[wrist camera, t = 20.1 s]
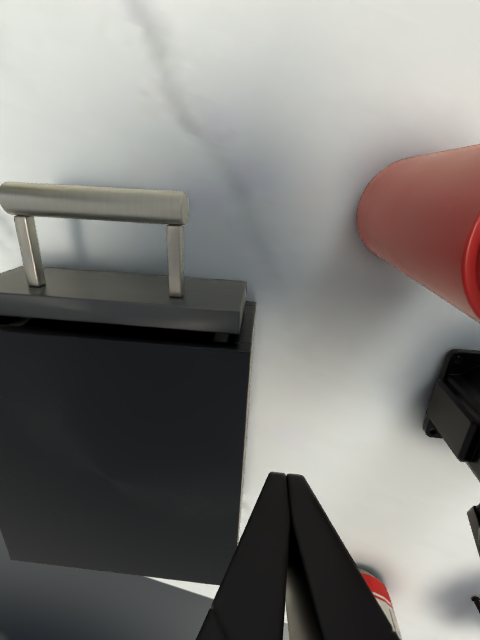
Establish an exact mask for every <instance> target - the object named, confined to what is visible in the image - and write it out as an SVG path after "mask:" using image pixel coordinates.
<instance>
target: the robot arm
mask: <svg viewBox="0 0 480 640" xmlns="http://www.w3.org/2000/svg"><path fill="white" fill-rule="evenodd" d="M456 356H459V358H458V359H456V360H454V358H455V357H456ZM426 414H427V417H426V420H425V423H424V426H423V430H424V432H425V433H426V435H427V436H429V437H434V438H443V439H444V440H445V441H446V443H447V444H448V446H449V447H450V449H451V450H452V452H453V453H454V455H455V456H456V457H457V459H458V460H459V461H460V462H466V463H467V465H468V466H469V467H470V469H471V470H472V472H473V473H474V475H475V476H476V477H477V479H478V480H479V482H480V351H476V350H463V349H454V350H451V351H450V352H449V353H448V354H447V356H446V359H445V362H444V365H443V368H442V371H441V374H440V377H439V380H438V381H437V382H436V384H435V387H434V390H433V393H432V396H431V400H430V403H429V406H428V409H427V412H426ZM433 428H434V429H433ZM431 429H433V430H431ZM467 515H468V519H469V522H470V526H471V529H472V532H473V536H474V539H475V543H476V546H477V550H478V553H479V556H480V504H479V505H478V506H473V507H472V508H471V509H470V510H469V511H468V512H467ZM285 601H286V611H287V620H288V630H289V639H290V640H400V638H399V637H398V635H397V633H396V632H395V631H392V629H393V627H392V625H391V623H390V622H389V620H388V618H387V617H386V615H385V613H384V611H383V610H382V608H381V606H380V605H379V603H378V601H377V600H376V598H375V596H374V595H373V593H372V591H371V589H370V588H369V586H368V584H367V583H366V581H365V579H364V578H363V576H362V574H361V572H360V571H359V569H358V567H357V566H356V564H355V562H354V561H353V559H352V557H351V556H350V554H349V552H348V550H347V549H346V547H345V545H344V544H343V542H342V540H341V539H340V537H339V535H338V533H337V532H336V530H335V528H334V527H333V525H332V523H331V522H330V520H329V518H328V517H327V515H326V513H325V511H324V510H323V508H322V506H321V505H320V503H319V501H318V500H317V498H316V496H315V495H314V493H313V491H312V489H311V488H310V486H309V484H308V483H307V481H306V479H305V478H304V476H302V475H298V474H287V475H285V474H284V473H278V472H270V473H269V475H268V477H267V479H266V481H265V484H264V486H263V488H262V491H261V493H260V495H259V497H258V500H257V502H256V504H255V507H254V509H253V511H252V513H251V516H250V518H249V520H248V523H247V525H246V527H245V529H244V532H243V534H242V536H241V539H240V541H239V543H238V546H237V548H236V550H235V552H234V555H233V557H232V559H231V562H230V564H229V566H228V568H227V571H226V573H225V575H224V578H223V580H222V582H221V584H220V587H219V589H218V591H217V594H216V596H215V598H214V600H213V603H212V608H211V609H209V611H208V614H207V616H206V618H205V620H204V623H203V625H202V627H201V630H200V632H199V634H198V636H197V638H196V640H283V627H284V612H285Z"/></svg>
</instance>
